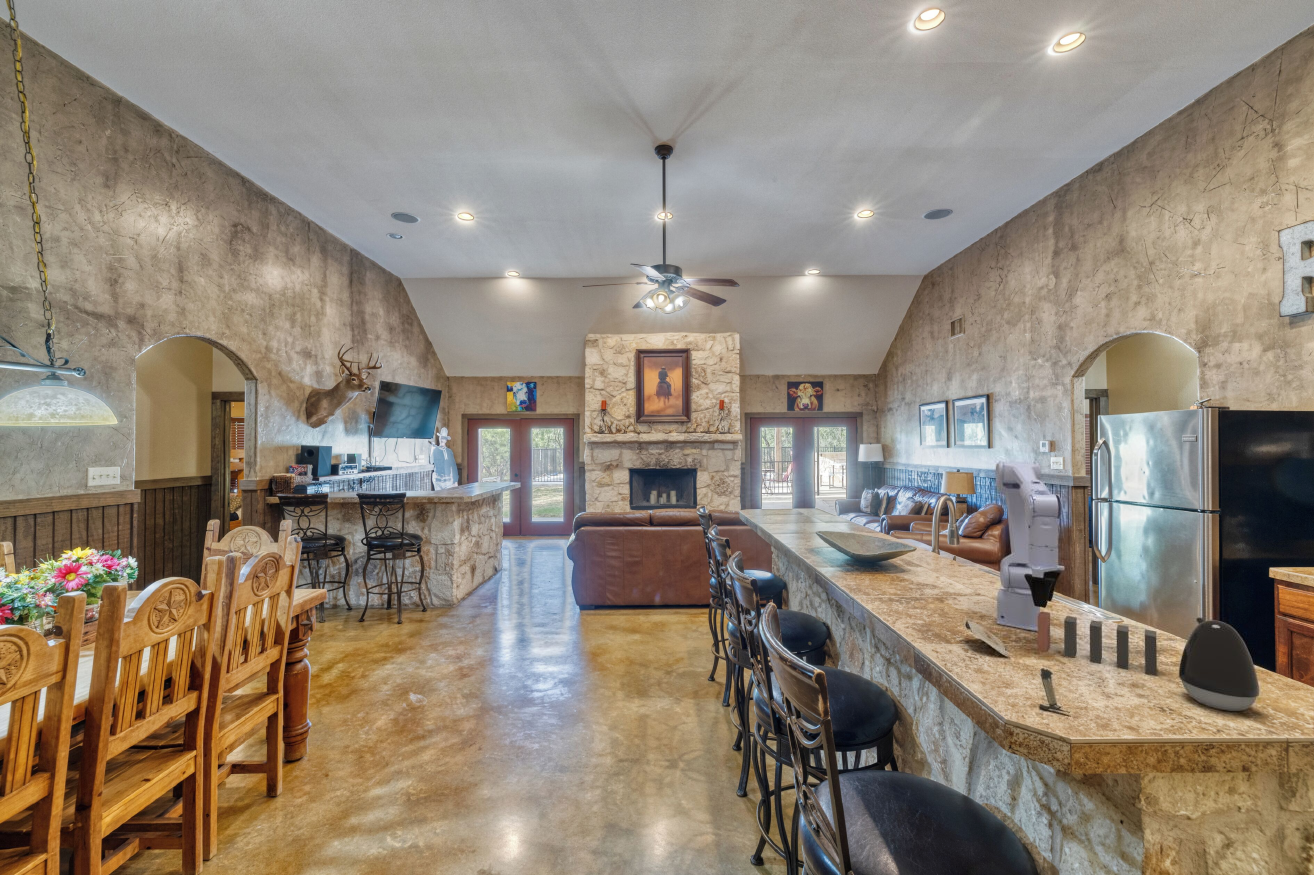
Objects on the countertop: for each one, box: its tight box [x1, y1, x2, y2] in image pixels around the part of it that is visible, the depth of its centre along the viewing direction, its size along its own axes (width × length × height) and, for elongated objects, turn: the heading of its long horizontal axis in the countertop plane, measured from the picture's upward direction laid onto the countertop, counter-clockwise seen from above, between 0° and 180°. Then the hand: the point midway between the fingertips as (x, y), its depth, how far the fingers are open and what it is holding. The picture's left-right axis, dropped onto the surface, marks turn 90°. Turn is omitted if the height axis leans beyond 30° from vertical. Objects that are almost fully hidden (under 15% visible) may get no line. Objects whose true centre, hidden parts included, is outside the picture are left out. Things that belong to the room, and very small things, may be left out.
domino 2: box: [1089, 619, 1103, 665], centre depth 120 cm, size 2×5×8 cm, turn 137°
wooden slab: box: [965, 619, 1010, 658], centre depth 126 cm, size 11×4×12 cm
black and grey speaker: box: [1178, 617, 1260, 712], centre depth 99 cm, size 10×10×15 cm
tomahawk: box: [1038, 667, 1072, 718], centre depth 102 cm, size 21×7×1 cm, turn 146°
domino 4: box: [1144, 628, 1158, 677], centre depth 113 cm, size 2×5×8 cm, turn 137°
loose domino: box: [1037, 610, 1051, 653], centre depth 126 cm, size 2×5×8 cm, turn 137°
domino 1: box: [1063, 615, 1078, 659], centre depth 123 cm, size 2×5×8 cm, turn 137°
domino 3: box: [1116, 624, 1130, 671], centre depth 117 cm, size 2×5×8 cm, turn 137°
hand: (1043, 603), depth 126 cm, fingers open, 7 cm apart
